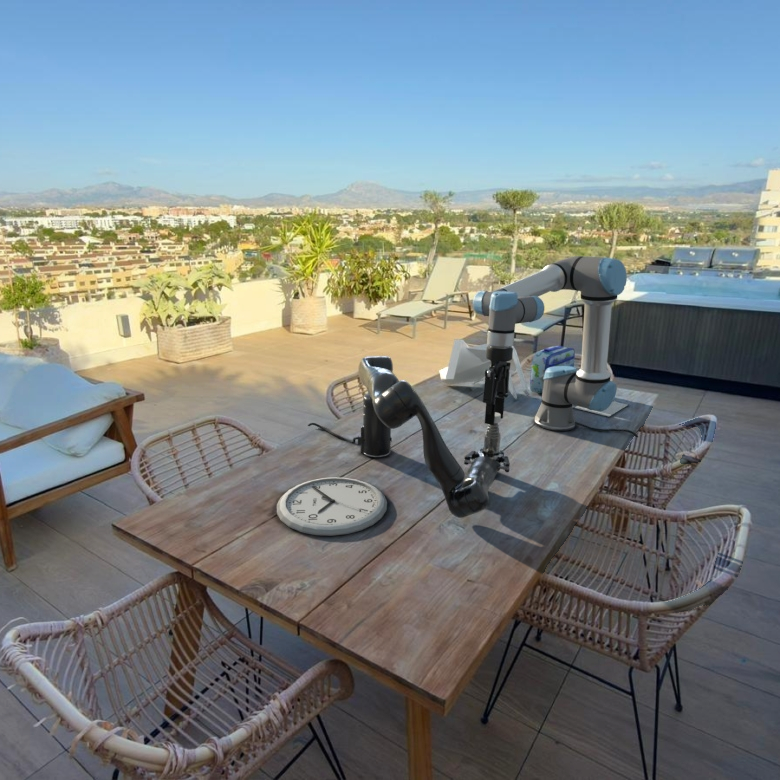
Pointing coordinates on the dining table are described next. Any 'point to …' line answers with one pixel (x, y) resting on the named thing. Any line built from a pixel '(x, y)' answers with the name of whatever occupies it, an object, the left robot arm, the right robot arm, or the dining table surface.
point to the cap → (497, 417)
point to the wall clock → (331, 506)
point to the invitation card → (609, 411)
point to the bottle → (492, 441)
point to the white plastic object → (475, 366)
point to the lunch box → (549, 364)
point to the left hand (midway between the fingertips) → (492, 451)
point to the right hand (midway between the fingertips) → (493, 420)
